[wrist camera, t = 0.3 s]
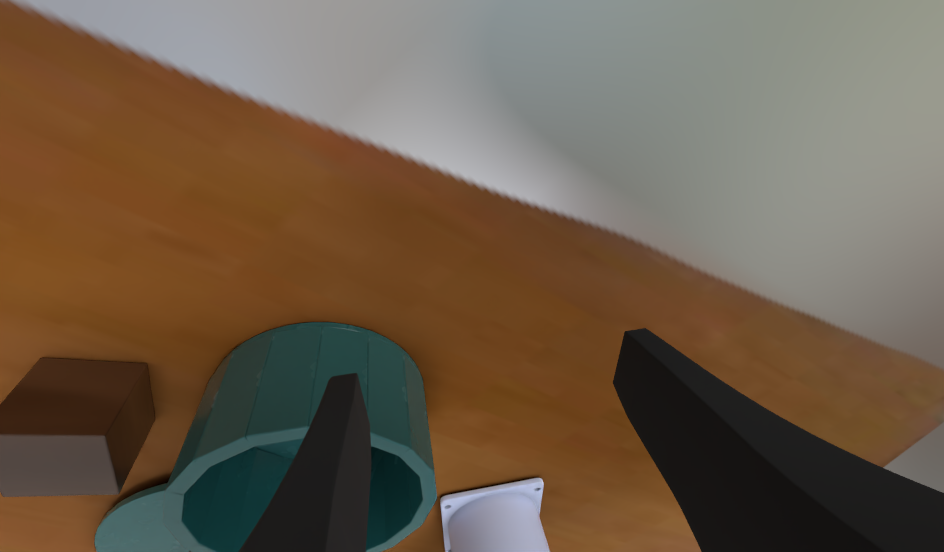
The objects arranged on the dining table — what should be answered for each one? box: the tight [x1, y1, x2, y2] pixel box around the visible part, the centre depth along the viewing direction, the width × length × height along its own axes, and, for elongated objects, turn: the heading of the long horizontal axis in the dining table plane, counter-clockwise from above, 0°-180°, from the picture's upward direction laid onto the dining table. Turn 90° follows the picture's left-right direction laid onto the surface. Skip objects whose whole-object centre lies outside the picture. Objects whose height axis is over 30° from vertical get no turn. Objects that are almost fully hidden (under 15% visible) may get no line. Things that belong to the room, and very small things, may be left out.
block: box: [0, 358, 155, 497], centre depth 20 cm, size 4×4×4 cm
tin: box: [163, 322, 437, 552], centre depth 22 cm, size 11×11×6 cm
